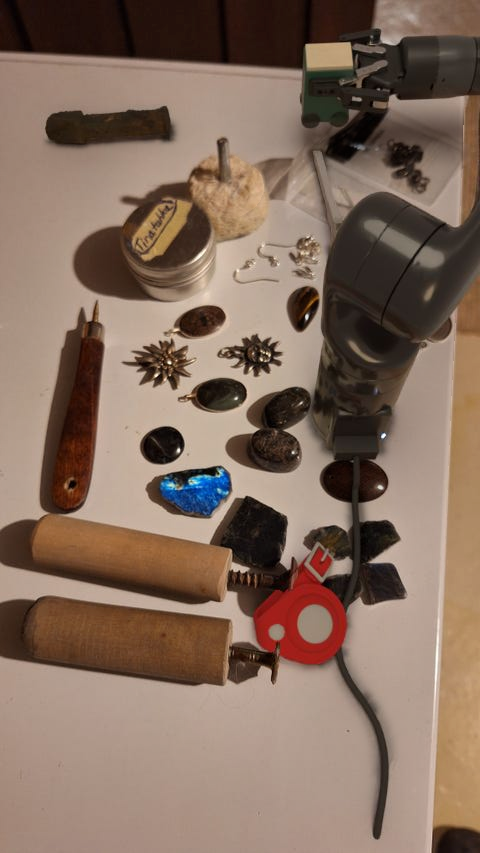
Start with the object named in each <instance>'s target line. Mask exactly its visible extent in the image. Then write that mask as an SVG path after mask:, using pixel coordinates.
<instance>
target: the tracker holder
mask: <svg viewBox="0 0 480 853" xmlns="http://www.w3.org/2000/svg"><path fill="white" fill-rule="evenodd" d="M329 551H330V549H329V548H325V547H324V546H323V545H322V544H321V543H320V542H319V541H316V542H315V543H314V546H313V547H312V549H311V551H310V552H309V553H308V554H307V556H306V557H305V558H304V559H303V560H302V562H301V563H300V564H299V565H298V566H297V568H298V577H297V579H296V580H295V582H294V584H293V589H291V590H290V591H288V589H287V590H286V591H285V592H284V593H283V592H282V591H280V590H276V589H275V590H274V591H273V592H272V593H271V594H270V595H269V596H268V597H267V598H266V599H265V600H264V601H263V602H262V603H261V604H259V606H258V607H257V608H256V610H255V611H254V613H253V615H252V619H253V620H252V621H253V627H254V633H255V638H256V642H257V644H258V645H259V647H260V648H262V650H265V651H267V652H268V653H270V654H273V653H272V652H274V651H275V648H276V643H277V642H280V653H279V655H278V656H279V657H281V658H283V659H285V660H288V661H290V662H295V663H298V664H302V665H309V666H313V665H314V666H315V665H319V664H323V663H325V662H327V661H329V660H331V659H332V658H333V657H334V656H336V655H335V654H336V653H337V651H338V649H339V648H340V647H342V645H343V644H344V642H345V639H346V636H347V630H348V629H347V628H348V620H347V613H346V614H345V610H344V608H343V605H342V601H341V600H340V598H339V597H338V596H337V595H336V593H335V592H333V591H332V590H330V588H328V587H325V586H323V585H322V584H323V583H324V582H325V580H326V578H327V576H328V574H329V572H330V571H331V568H332V567H333V565H334V562H335V558H334V557H333V556H332V554H331V553H330V552H329Z"/></svg>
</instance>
